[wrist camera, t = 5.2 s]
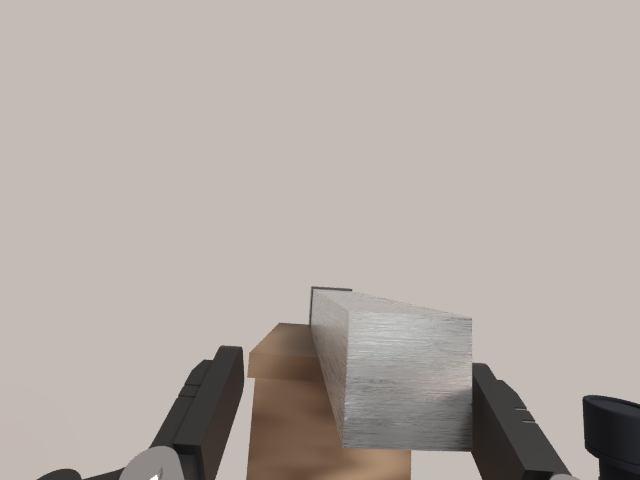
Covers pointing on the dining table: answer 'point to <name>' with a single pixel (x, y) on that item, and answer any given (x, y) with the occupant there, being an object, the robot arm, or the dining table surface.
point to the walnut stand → (304, 419)
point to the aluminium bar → (394, 371)
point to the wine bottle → (613, 436)
